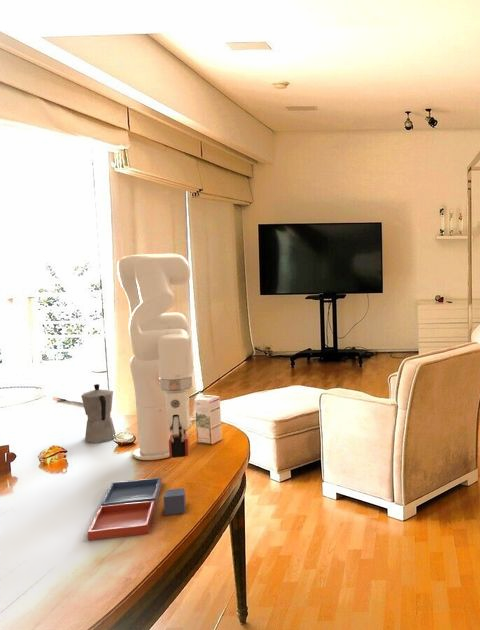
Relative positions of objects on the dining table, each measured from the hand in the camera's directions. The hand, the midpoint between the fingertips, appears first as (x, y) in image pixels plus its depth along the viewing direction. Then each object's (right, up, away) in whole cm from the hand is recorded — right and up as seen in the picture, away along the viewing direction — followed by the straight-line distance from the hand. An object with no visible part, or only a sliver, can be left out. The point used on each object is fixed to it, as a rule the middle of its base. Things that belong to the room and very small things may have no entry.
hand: (179, 452), depth 172 cm
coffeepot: (-42, -5, +46) cm, 63 cm away
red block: (0, 0, 0) cm, 0 cm away
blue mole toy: (-17, -5, +50) cm, 53 cm away
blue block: (+2, -12, -9) cm, 15 cm away
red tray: (-7, -13, -16) cm, 22 cm away
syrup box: (-6, -5, +43) cm, 44 cm away
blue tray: (-11, -11, -1) cm, 16 cm away
